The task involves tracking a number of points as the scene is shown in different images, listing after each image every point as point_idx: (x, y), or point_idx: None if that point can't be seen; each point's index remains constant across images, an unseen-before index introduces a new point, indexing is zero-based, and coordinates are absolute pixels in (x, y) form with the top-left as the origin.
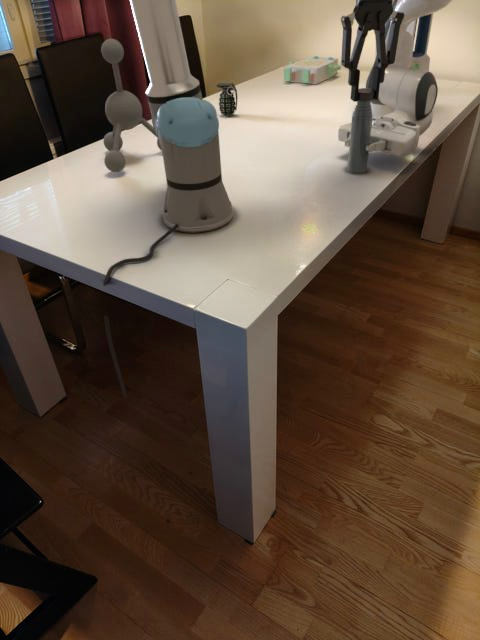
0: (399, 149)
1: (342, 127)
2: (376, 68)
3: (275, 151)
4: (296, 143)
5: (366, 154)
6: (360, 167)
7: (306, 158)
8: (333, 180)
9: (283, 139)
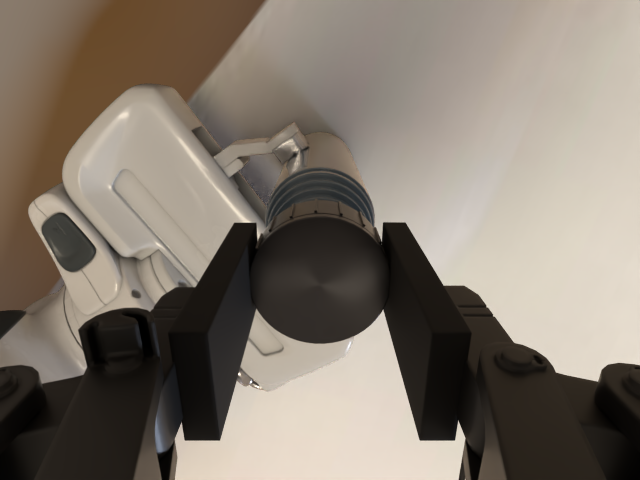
0: (171, 92)
1: None
2: (214, 379)
3: None
4: None
5: None
6: (321, 134)
7: None
8: (430, 95)
9: (447, 460)
